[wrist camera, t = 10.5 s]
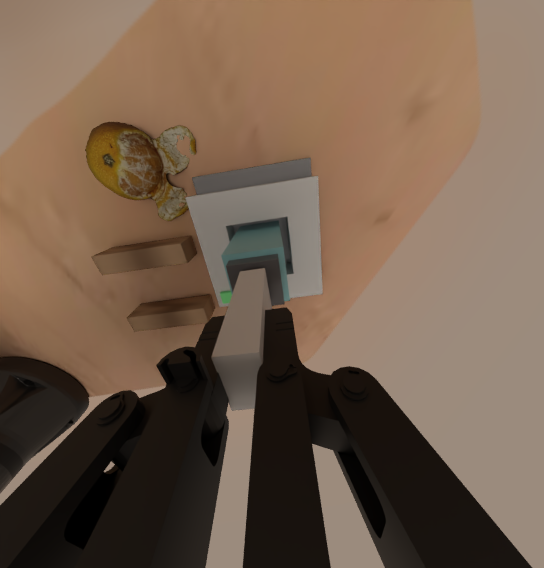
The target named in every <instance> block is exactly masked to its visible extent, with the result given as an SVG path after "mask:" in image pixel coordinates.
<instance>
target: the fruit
mask: <svg viewBox="0 0 544 568" xmlns="http://www.w3.org/2000/svg"><path fill="white" fill-rule="evenodd" d="M177 135H180V139H181V140H183V139H184V135H186V136H187V137H189V138H190V153H191V154H193V155H195V154H196V145H195V139H194V138H193V136H192V133H191V132H190V131H189V130H188V129H187V128H186V127H184V126H175V127H171V128H169V129H168V130H165V131H164V132H163V133H162V134H161V136H160V137H159V138H156V139H151V138H150V137H149V136H148V135H146V134H145V133H144V132H142V131H141V130H139V129H138V128H136V127H133V126H132V125H127V124H125V123H120V122H107V123H103V124H101V125H99V126H98V127H96V128H94V129H93V130H92V131H91V134H90V136H89V140H88V142H87V146H86V149H85V151H86V153H87V155H86V158H87V163H88V166H89V168H90V170H91V171H92V173H93V174H94V176H95V177H96V178H97V179H98V181H100V182H101V183H102V184H103V185H104V186H105V187H107V188H108V189H110V190H111V191H113V192H114V193H116V194H118V195H120V196H122V197H124V198H128V199H132V200H143V199H147V198H152V199H153V200H155V201H156V204H157V206H158V211H159V213H158V215H159V217H160V218H162V219H164V220H166V221H172V220H173V219H174V218H175V217H178V216H180V215H182V214H184V213H185V212H186V211H187V210H188V209H189V208H188V204H187V201H186V199H185V198H184V197H185V196H186V195H187V194H186V193H185V192H184V190H183V189H181V188H177V187H173V186H171V185H170V184H169V183H168V181H167V179H166V174H167V173H171V174H172V175H174V174H176V173H178V172H180V171H182V170H183V169H184V168H186V167H187V165H188V163H189V158H187V157H186V156H183V155H182V154H181V153H180V152H179V151H178V150H177V147H176V143H177V142H178V139H177ZM180 202H181V203H185V205H184V207H179V203H180Z"/></svg>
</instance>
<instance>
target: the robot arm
mask: <svg viewBox="0 0 544 568" xmlns="http://www.w3.org/2000/svg"><path fill="white" fill-rule="evenodd" d="M156 366H157V368H158V370H159V371H160V373H161V375H162V377H163V378H164V380H165V382H166V384H167V385H166V387H165V388H164V389H162V390H160V391H157V392H155V393H152V394H149V395H147V396H144V397H141V398H139V397H138V396H137V394H136V393H135V392H133V391H131V390H128V391H121V392H119V393H116V394H113V395H112V396H110V397H108V398H107V399H105V400H104V401H103V402H101V403H100V404H99V405H98V406H97V407H96V408H95V409H94V410H93V411H92V412H91V413H90V414H89V415H88V416H87V417H86V418H85V419H84V420H83V421H82V422H81V423H80V424H79V425H78V426H77V427H76V428H75V429H74V430H73V431H72V432H71V433H70V434H69V435H68V436H67V437H66V438H65V439H64V440H63V441H62V442H61V444H60V445H59V446H58V447H57V448H56V449H55V450H54V451H53V452H52V453H51V454H50V455H49V456H48V457H47V458H46V459H45V460H44V461H43V462H42V463H41V464H40V465H39V466H38V467H37V468H36V469H35V470H34V471H33V472H32V473H31V475H29V476H28V478H26V480H25V481H24V482H23V483H22V484H21V485H20V486H19V487H18V488H17V489H16V490H15V491H14V492H13V493H12V494H11V495H10V496H9V497H8V498H7V499H6V500H5V501H4V502H3V503H2V504H1V505H0V568H205V566H206V560H207V554H208V548H209V542H210V536H211V530H212V524H213V519H214V513H215V507H216V500H217V495H218V488H219V483H220V477H221V471H222V465H223V459H224V452H225V447H226V441H227V435H228V429H229V421H228V419H227V416H226V412H227V407H228V402H229V405H230V407H231V410H232V411H233V410H242V409H253V408H255V412H254V425H253V438H252V452H251V466H250V478H249V479H250V480H249V492H248V505H247V519H246V532H245V546H244V559H243V568H331V567H330V560H329V554H328V547H327V541H326V534H325V527H324V521H323V514H322V508H321V502H320V494H319V488H318V481H317V474H316V467H315V461H314V454H313V448H312V444H315V445H318V446H321V447H324V448H328V449H331V450H333V451H334V453H335V456H336V458H337V460H338V462H339V464H340V467H341V469H342V471H343V474H344V476H345V478H346V480H347V483H348V485H349V487H350V490H351V492H352V494H353V496H354V498H355V501H356V503H357V505H358V508H359V510H360V512H361V514H362V517H363V519H364V521H365V523H366V526H367V528H368V530H369V532H370V535H371V537H372V539H373V542H374V544H375V546H376V548H377V551H378V553H379V555H380V557H381V560H382V562H383V564H384V566H385V568H532V567H531V566H530V565H529V563H528V562H527V561H526V560H525V559H524V557H523V556H522V555H521V554H520V553H519V551H518V550H517V549H516V548H515V547H514V545H513V544H512V543H511V542H510V540H509V539H508V538H507V537H506V536H505V535H504V533H503V532H502V531H501V530H500V528H499V527H498V526H497V525H496V524H495V522H494V521H493V520H492V519H491V517H490V516H489V515H488V514H487V513H486V512H485V510H484V509H483V508H482V507H481V505H480V504H479V503H478V502H477V501H476V499H475V498H474V497H473V496H472V495H471V493H470V492H469V491H468V490H467V488H466V487H465V486H464V485H463V484H462V482H461V481H460V480H459V479H458V478H457V476H456V475H455V474H454V473H453V472H452V471H451V469H450V468H449V467H448V466H447V464H446V463H445V462H444V461H443V460H442V458H441V457H440V456H439V455H438V454H437V453H436V451H435V450H434V449H433V448H432V446H431V445H430V444H429V443H428V441H427V440H426V439H425V438H424V437H423V435H422V434H421V433H420V432H419V431H418V429H417V428H416V427H415V426H414V425H413V423H412V422H411V421H410V420H409V418H408V417H407V416H406V415H405V414H404V413H403V411H402V410H401V409H400V408H399V406H398V405H397V404H396V403H395V402H394V400H393V399H392V398H391V397H390V396H389V394H388V393H387V392H386V391H385V389H384V388H383V387H382V386H381V385H380V383H379V382H378V381H377V380H376V379H375V378H374V377H373V376H372V375H370V374H369V373H368V372H366V371H364V370H362V369H360V368H355V367H350V366H349V367H343V368H339V369H337V370H336V371H334V372H333V373H332V375H326V374H321V373H317V372H314V371H311V370H309V369H308V368H306V367H305V366H304V365H303V364H302V363H301V361H300V360H299V356H298V351H297V344H296V338H295V331H294V325H293V318H292V313H291V312H290V311H289V310H288V309H287V308H278V309H272V305H271V300H270V294H269V288H268V283H267V277H266V271H265V268H262V269H254V270H247V271H240V273H239V276H238V279H237V282H236V285H235V288H234V291H233V294H232V297H231V300H230V303H229V306H228V309H227V312H226V315H225V316H219V317H212V318H211V319H210V320H209V321H208V323H207V324H206V325H205V327H204V329H203V331H202V334H201V335H200V338H199V341H198V342H197V344H196V347H195V348H194V347H183V348H179V349H177V350H174V351H172V352H170V353H169V354H168V355H166V356H165V357H164V358H162V359H161V361H160V362H159V363H158V364H157V365H156ZM88 405H89V398H88V395H87V393H86V391H85V390H84V388H83V387H82V386H81V385H80V384H79V383H78V382H77V381H76V380H75V379H73V378H72V377H71V376H69V375H68V374H66V373H65V372H63V371H61V370H59V369H57V368H55V367H53V366H51V365H48V364H46V363H43V362H39V361H36V360H32V359H27V358H19V357H5V358H0V493H1V492H2V491H3V490H4V489H5V487H6V486H7V485H8V484H9V483H10V481H11V480H12V479H13V478H14V477H15V476H16V474H17V473H18V472H19V471H20V470H21V469H22V467H23V466H24V465H25V464H26V463H27V462H28V461H29V460H30V459H31V458H32V457H34V456H35V455H36V454H37V453H39V452H40V451H41V450H42V449H43V448H45V447H46V446H47V445H49V444H50V443H51V442H52V441H54V440H55V439H56V438H57V437H59V436H60V435H61V434H62V433H64V432H65V431H66V430H67V429H69V428H70V427H71V426H72V425H74V424H75V422H77V421H78V419H79V418H80V417H81V416H82V414H83V413H84V412H85V411H86V409H87V408H88ZM111 461H112V462H113V463H114V464H115V465H114V467H112V469H111V470H109V471H107V472H104V470H105V469H106V467H107V466H108V465H109V463H110V462H111Z"/></svg>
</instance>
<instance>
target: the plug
mask: <svg viewBox="0 0 544 568" xmlns="http://www.w3.org/2000/svg"><path fill="white" fill-rule="evenodd" d="M221 257H222V260H223V264H224V268H225V271H226V275H227V279H228V282H229V286H230V290H231V294H233V291H234V288H235V285H236V282H237V279H238V276H239V273H240V271H247V270H254V269H262V268H265V271H266V277H267V283H268V288H269V294H270V300H271V305H272V306H274V305H282V304H284V301H290V297H289V289H288V281H287V273H286V265H285V257H284V248H283V242H282V237H281V231H280V225H279V220H278V221H272V222H265V223H258V224H252V225H245V226H240V227H239V229H238V230H237V232H236V233H235V235H234V236H233V238H232V240H231V241H230V243H229V244H228V246H227V247H226V249H225V250H224V252H223V254H222V255H221Z"/></svg>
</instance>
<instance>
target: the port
mask: <svg viewBox="0 0 544 568" xmlns="http://www.w3.org/2000/svg"><path fill="white" fill-rule="evenodd" d="M192 180H193V183H194V187H195V190H196V193H197V195H194V196H190V197H186V201H187V204H188V208H189V211H190V214H191V217H192V220H193V224H194V227H195V230H196V233H197V236H198V240H199V243H200V246H201V249H202V252H203V255H204V259H205V262H206V265H207V268H208V271H209V275H210V278H211V281H212V284H213V287H214V291H215V294H216V297H217V300H218V303H219V307H224V306H229V303H230V300H231V297H232V294H231V290H230V286H229V282H228V279H227V275H226V271H225V268H224V264H223V260H222V257H221V255H222V254H223V252H224V250H225V249H226V247H227V246H228V244H229V243H230V241H231V240H232V238H233V236H234V235H235V233H236V232H237V230H238V229H239V227H240V226H245V225H252V224H258V223H265V222H272V221H278V220H279V225H280V231H281V237H282V242H283V248H284V257H285V265H286V273H287V281H288V289H289V297H290V298H296V297H303V296H311V295H319V294H323V293H322V267H321V241H320V215H319V189H318V176H311V158H305V159H299V160H293V161H287V162H281V163H275V164H269V165H263V166H258V167H252V168H246V169H240V170H234V171H228V172H222V173H216V174H210V175H204V176H198V177H192Z"/></svg>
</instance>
